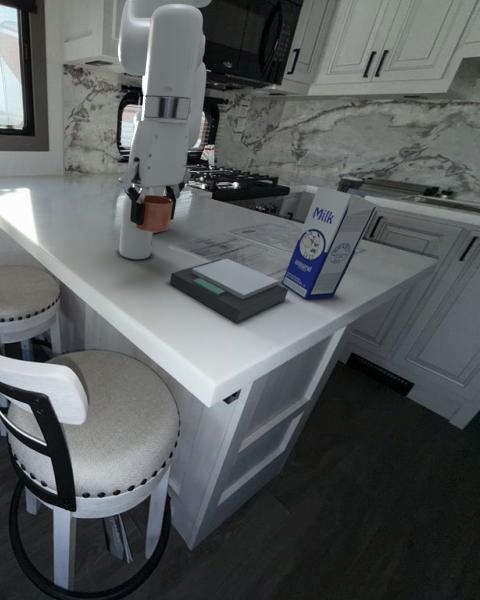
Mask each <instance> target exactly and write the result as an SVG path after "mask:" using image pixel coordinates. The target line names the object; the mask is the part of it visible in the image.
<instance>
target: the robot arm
mask: <svg viewBox="0 0 480 600" xmlns="http://www.w3.org/2000/svg"><path fill="white" fill-rule="evenodd" d="M212 1H213V0H126V1H125V2H124V6H123V10H122V13H121V19H120V27H119V35H118V45H117V46H118V47H117V49H118V50H117V53H118V54H117V55H118V62H119V65H120V68H121V69H122V71H123V72H124V73H125V74H127V75H130V76H134V77H135V76H136V77H137V76H138V77H142V78H141V92H142V95H143V97H142V106H141V107H139V109H137V110H136V112H135V113H134V115H133V120H132V137H131V138H132V139H131V142H130V143H131V144H130V149H129V150H130V151H129V157H128V165H127V170H126V171H125V172H124V173H123V174H122V175H121V176H120V177H119V178H118V183H119V184H120V186H121V187H122V189H123V190H124V193H125V195H126V194H127V195H128V197H129V199H130V200H132V202H131V214H130V220H131V222H133V223H135V224H137V225H143V223H144V214H145V203H143V200H144V198H145V196H146V194H147V192H148V190H149V188H150V187H152V190H153V193H154V195H156V196H163V197H167V198H170V199H172V200H173V206H172V212H171V219H170V221H173V220H174V219H175V213H176V207H177V201H178V200H177V199H179V198H180V197H181V192H182V191H183V190H184V189H185V187H186V184H188V182H189V180H190V179H191V177H192V174H191V172H190V171H189V169H188V168H187V162H188V155H189V153H188V152H189V150H190V149H192V148H194V147H195V146H196V145H197V143H198V140H199V137H200V133H201V126H202V119H203V110H204V109H203V108H204V103H205V102H204V101H205V95H206V94H205V93H206V86H207V85H206V84H207V68H206V65H205V63H204V62H203V59H204V55H205V51H206V48H205V47H206V36H205V34H204V30H203V25H204V18H203V13H202V12H201V10H200V9H199V8H205V7H207V6H209V5H210V4H211V2H212ZM131 183H134V186H132V184H131ZM140 188H141V190H140V192H139V193H138V191H139V189H140ZM154 233H155V234H156V233H157V232H153V234H154Z"/></svg>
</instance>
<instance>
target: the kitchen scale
mask: <svg viewBox="0 0 480 600" xmlns="http://www.w3.org/2000/svg"><path fill="white" fill-rule="evenodd" d="M279 281H280V280H278V279H277V278H276V279H275V278H273V277H271V276H268V275H266V274H264V273H262V272H260V271H257V270H255V269H252V268H250V267H248V266H245V265H244V264H241V263H238V262H236V261H233V260H231V259H229V258H224V259H220V258H219V259H215V260H212V261H208V262H205V263H201V264H198V265H195V266H191V267H188V268H184V269H179V270H177V271H173V272H171V275H170V279H169V284H170V285H171V286H172V287H174V288H176V289H178V290H179V291H181V292H183V293H185V294H186V295H188V296H190V298H193V299H194V300H196V301H198V302H200V303H201V304H203V305H205V306H206V307H208V308H210V309H212V310H213V311H215V312H216V313H218V314H220V315H222V316H223V317H225V318H227V319H228V320H230V321H232V322H233V323H235V324H238V323H240V322H241V321H243V320H245V319H248V318H250V317H252V316H254V315H256V314H258V313H260V312H263V311H265V310H267V309H269V308H271V307H273V306H275V305H278V304H280V303H281V302H284V301H285V300H286V297H287V294H288V292H289V290H290V289H289V288H288V287H286V286H282V285H280V284H279Z"/></svg>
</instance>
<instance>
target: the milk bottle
mask: <svg viewBox="0 0 480 600" xmlns="http://www.w3.org/2000/svg"><path fill="white" fill-rule="evenodd" d="M131 184H132V186H134V183H131ZM140 190H141V188H140V189H139V191H138V193H139V192H140ZM146 195H154V193H153V190H152V187H150V188H149V190H148V192H147V194H146ZM123 199H124V200H123V203H122V208H121V218H120V219H121V220H120V234H119V249H118V251H119V254H120V255H121V256H122V257H123V258H126V259H129V260H145V259H147V258H149V257H150V256H151V254H152V253H151V252H152V247H153V239H154V233H153V232H150V231H144V230H141V229H138V228H136V227H135V226H134V223H133V222H131V220H130V214H131V202H132V200H130V199H129V197H128V195H127V194H126V193H125V196H124V198H123Z"/></svg>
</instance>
